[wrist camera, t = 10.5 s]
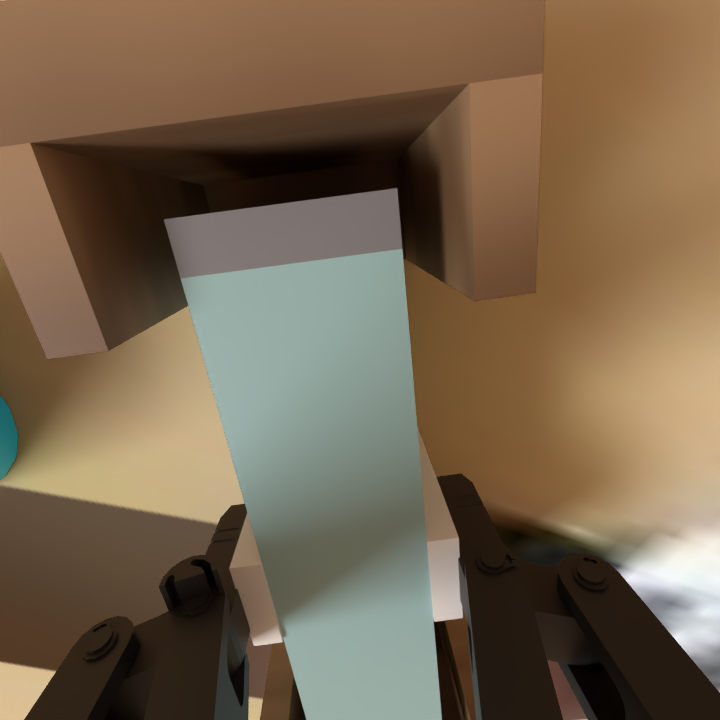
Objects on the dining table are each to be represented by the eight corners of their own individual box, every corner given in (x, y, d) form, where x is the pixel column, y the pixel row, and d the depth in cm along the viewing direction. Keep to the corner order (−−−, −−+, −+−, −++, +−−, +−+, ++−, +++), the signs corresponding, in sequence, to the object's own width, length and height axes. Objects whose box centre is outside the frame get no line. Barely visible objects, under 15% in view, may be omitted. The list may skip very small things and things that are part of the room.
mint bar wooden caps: (192, 151, 14) (-104, 15, 5) (409, 121, 14) (547, -73, 5) (303, 599, 22) (276, 882, 13) (442, 580, 22) (517, 848, 13)
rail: (246, 219, 12) (163, 219, 7) (371, 202, 12) (397, 188, 7) (331, 616, 18) (327, 792, 13) (414, 605, 18) (446, 776, 13)
